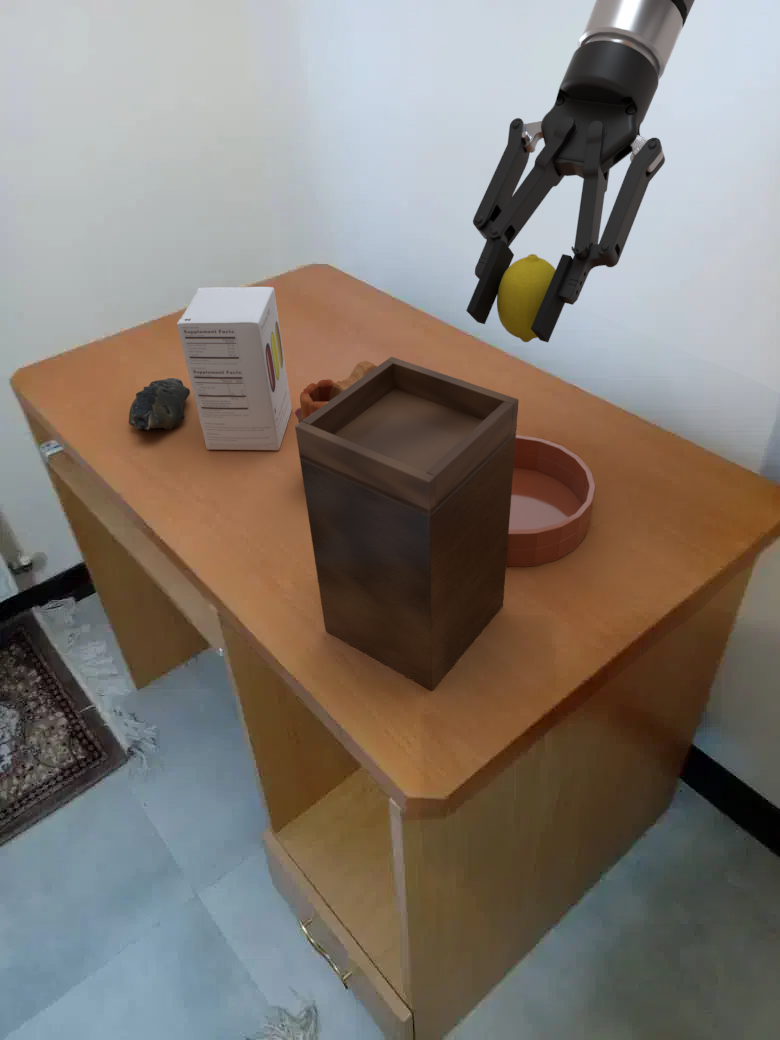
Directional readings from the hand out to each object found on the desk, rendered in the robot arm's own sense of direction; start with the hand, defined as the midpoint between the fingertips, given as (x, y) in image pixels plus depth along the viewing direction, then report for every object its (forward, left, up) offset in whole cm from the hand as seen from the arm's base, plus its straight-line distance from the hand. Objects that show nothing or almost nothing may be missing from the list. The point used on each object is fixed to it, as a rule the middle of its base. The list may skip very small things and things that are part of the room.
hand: (507, 326), depth 67 cm
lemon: (0, -4, -3) cm, 5 cm away
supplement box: (+35, 0, -24) cm, 42 cm away
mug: (+19, 0, -24) cm, 31 cm away
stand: (0, +14, -24) cm, 28 cm away
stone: (+47, +4, -24) cm, 53 cm away
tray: (0, +14, -4) cm, 15 cm away
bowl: (0, -4, -24) cm, 24 cm away
